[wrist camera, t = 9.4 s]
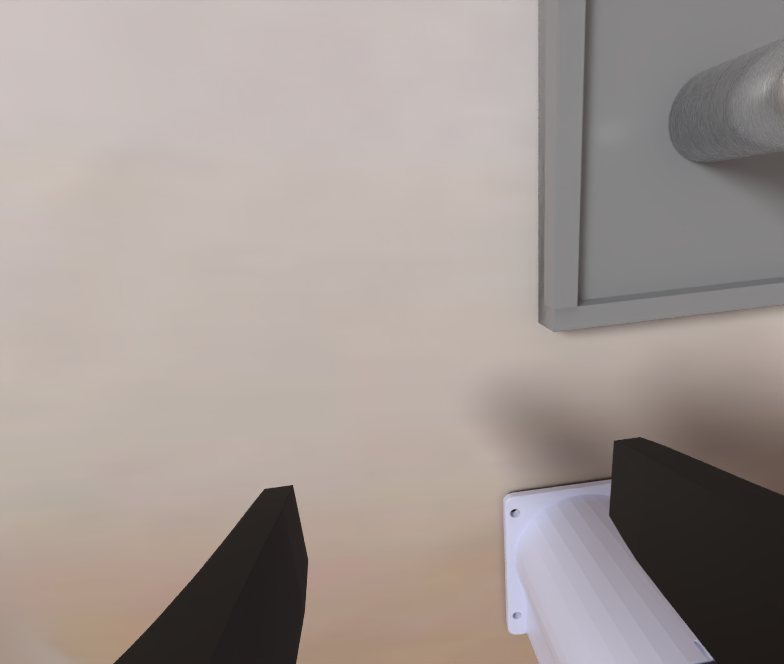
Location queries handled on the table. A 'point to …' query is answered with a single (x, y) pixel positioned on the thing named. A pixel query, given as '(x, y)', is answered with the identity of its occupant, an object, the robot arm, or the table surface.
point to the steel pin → (732, 108)
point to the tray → (648, 167)
